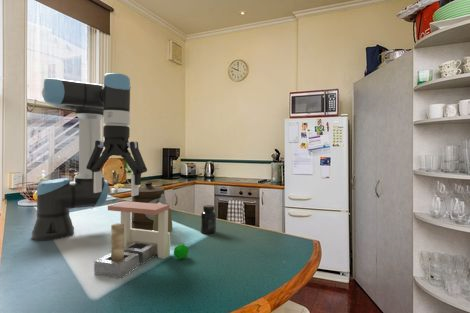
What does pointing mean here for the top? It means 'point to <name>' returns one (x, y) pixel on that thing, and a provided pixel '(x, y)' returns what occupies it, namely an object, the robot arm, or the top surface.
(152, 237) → the pink-topped stool
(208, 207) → the supplement bottle
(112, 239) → the peg
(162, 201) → the squeeze bottle
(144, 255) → the inner socket
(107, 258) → the socket
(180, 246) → the polyhedron
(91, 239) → the top surface
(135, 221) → the wooden container
